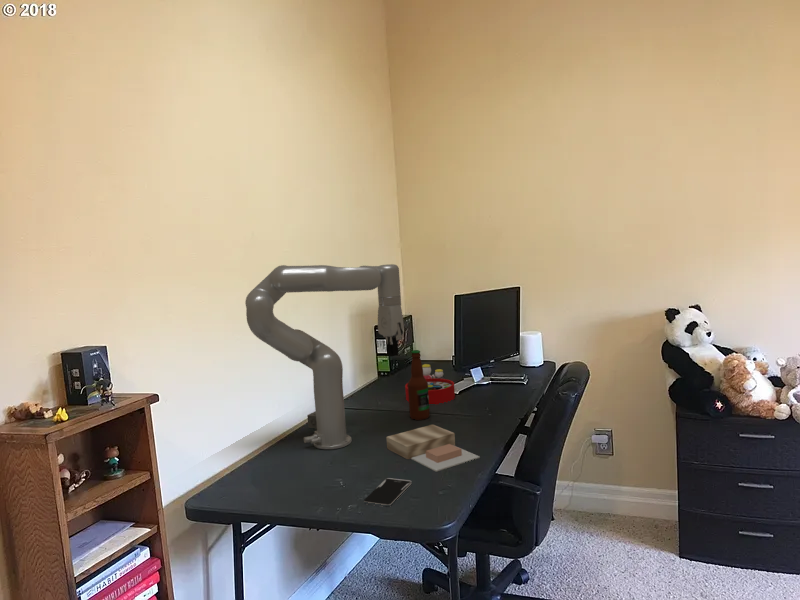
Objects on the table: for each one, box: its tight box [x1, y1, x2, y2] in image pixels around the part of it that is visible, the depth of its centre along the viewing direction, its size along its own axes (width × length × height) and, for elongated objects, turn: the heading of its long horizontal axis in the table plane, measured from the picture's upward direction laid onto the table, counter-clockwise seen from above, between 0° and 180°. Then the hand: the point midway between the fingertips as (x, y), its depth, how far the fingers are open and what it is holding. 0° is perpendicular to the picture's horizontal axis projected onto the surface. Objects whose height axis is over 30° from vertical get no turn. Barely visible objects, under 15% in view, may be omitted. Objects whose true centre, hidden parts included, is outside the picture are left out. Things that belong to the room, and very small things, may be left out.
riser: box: [385, 424, 456, 460], centre depth 199 cm, size 18×12×4 cm, turn 122°
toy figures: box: [422, 363, 446, 379], centre depth 280 cm, size 12×4×8 cm, turn 70°
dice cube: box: [307, 410, 317, 430], centre depth 227 cm, size 5×5×5 cm
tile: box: [426, 444, 463, 463], centre depth 189 cm, size 9×6×2 cm, turn 122°
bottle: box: [407, 349, 431, 421], centre depth 229 cm, size 7×7×25 cm
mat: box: [411, 445, 481, 473], centre depth 188 cm, size 16×13×1 cm
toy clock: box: [404, 377, 456, 405], centre depth 255 cm, size 20×6×20 cm
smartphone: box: [363, 477, 412, 505], centre depth 166 cm, size 8×1×15 cm
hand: (393, 355), depth 211 cm, fingers closed
